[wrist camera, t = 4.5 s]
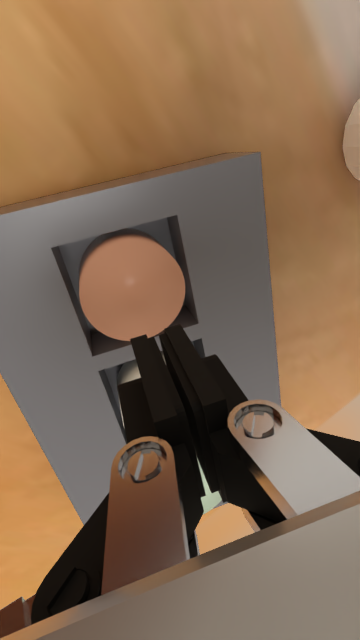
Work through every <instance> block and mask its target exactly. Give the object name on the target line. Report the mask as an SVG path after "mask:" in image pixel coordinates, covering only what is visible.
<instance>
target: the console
mask: <svg viewBox="0 0 360 640" xmlns="http://www.w3.org/2000/svg"><path fill="white" fill-rule="evenodd" d="M125 228H128V229H135V230H139V231H142V232H145V233H147V234H149V235H150V236H152V237H153V238H154V239H156V240H157V241H158V242H159V243H160V244H161V245H162V246H163V247H164V248H165V250H166V251H167V252H168V253H169V254H170V255H171V256H172V257H173V258H174V259H175V260H176V262H177V263H178V265H179V266H180V268H181V271H182V273H183V276H184V280H185V298H184V302H183V305H182V308H181V310H180V312H179V314H178V315H177V317H176V318H175V320H174V321H173V322H172V323H171V324H170V325H169V326H168V327H172V326H175V325H178V324H180V325H181V326H182V328H183V329H184V331H185V332H186V334H187V336H188V337H189V339H190V341H191V342H192V344H193V346H194V347H195V349H196V350H197V352H198V354H199V355H200V357H201V358H204V357H207V356H211V355H214V354H216V355H217V356H218V357H219V359H220V360H221V362H222V363H223V364H224V366H225V367H226V369H227V370H228V372H229V373H230V374H231V376H232V377H233V379H234V380H235V382H236V383H237V384H238V386H239V387H240V389H241V390H242V391H243V393H244V394H245V396H246V397H247V399H248V400H258V399H259V400H267V401H270V402H273V403H276V404H277V405H279V406H280V407H281V399H280V386H279V374H278V362H277V350H276V337H275V325H274V313H273V301H272V288H271V276H270V264H269V252H268V239H267V227H266V215H265V203H264V190H263V178H262V166H261V154H260V152H241V153H224V154H220V155H216V156H212V157H207V158H203V159H199V160H195V161H191V162H187V163H182V164H178V165H174V166H170V167H166V168H162V169H157V170H153V171H149V172H145V173H141V174H137V175H132V176H128V177H124V178H120V179H116V180H112V181H107V182H103V183H99V184H95V185H91V186H87V187H82V188H78V189H74V190H70V191H66V192H62V193H57V194H53V195H49V196H45V197H41V198H37V199H32V200H28V201H24V202H20V203H16V204H12V205H7V206H3V207H0V373H1V375H2V377H3V379H4V381H5V382H6V384H7V386H8V388H9V390H10V392H11V393H12V395H13V397H14V399H15V401H16V402H17V404H18V406H19V408H20V410H21V412H22V413H23V415H24V417H25V419H26V421H27V422H28V424H29V426H30V428H31V430H32V432H33V433H34V435H35V437H36V439H37V441H38V442H39V444H40V446H41V448H42V450H43V452H44V453H45V455H46V457H47V459H48V461H49V462H50V464H51V466H52V468H53V470H54V471H55V473H56V475H57V477H58V479H59V481H60V482H61V484H62V486H63V488H64V490H65V491H66V493H67V495H68V497H69V499H70V501H71V502H72V504H73V506H74V508H75V510H76V511H77V513H78V515H79V517H80V519H81V521H82V522H83V524H84V525H85V524H86V522H87V521H88V520H89V518H90V517H91V516H92V514H93V513H94V512H95V510H96V509H97V508H98V506H99V505H100V504H101V502H102V501H103V500H104V498H105V497H106V496H107V494H108V493H109V489H110V476H111V467H112V463H113V459H114V458H115V456H116V454H117V453H118V451H120V450H121V449H122V448H123V447H124V446H125V445H126V444H127V440H126V434H125V429H124V426H123V421H122V415H121V409H120V403H119V397H118V391H117V377H118V374H119V371H120V369H121V367H122V366H123V364H124V363H125V362H129V361H132V360H135V359H136V358H135V355H134V351H133V348H132V344H131V341H123V340H118V339H114V338H111V337H108V336H106V335H105V334H103V333H101V332H100V331H98V330H97V329H96V328H95V327H94V326H93V325H92V324H91V323H90V322H89V321H88V319H87V318H86V316H85V314H84V312H83V310H82V307H81V303H80V297H79V267H80V262H81V259H82V256H83V254H84V252H85V250H86V249H87V247H88V246H89V245H90V244H91V243H92V242H93V241H94V240H95V239H96V238H97V237H99V236H100V235H102V234H106V233H109V232H113V231H117V230H121V229H125ZM168 327H167V328H168ZM160 334H164V330H163V331H162V332H160V333H158V334H156V335H155V336H152V337H154V338H155V340H156V342H157V345H158V347H159V349H160V351H163V350H162V346H161V343H160V338H159V335H160ZM226 503H228V502H225V503H223V501H222V500H221V501H220V502H219V504H217V505H216V506H215V507H214V508H216V507H219V506H221V505H224V504H226ZM214 508H213V509H214Z"/></svg>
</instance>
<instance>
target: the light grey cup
mask: <svg viewBox="0 0 360 640" xmlns="http://www.w3.org/2000/svg"><path fill="white" fill-rule="evenodd" d="M342 148H343V153H344V158H345V163H346V166H347V168H348V169H349V171H350V172H351V174H352V175H353V176H354V178H355V179H357V180H359V181H360V98H359V100H358V101H357V102H356V103H355V104H354V106H353V109H352V111H351V113H350V116H349V118H348V120H347V122H346V125H345V130H344V138H343V146H342Z"/></svg>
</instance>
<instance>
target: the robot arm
mask: <svg viewBox="0 0 360 640" xmlns="http://www.w3.org/2000/svg"><path fill="white" fill-rule="evenodd" d="M159 338H160V343H161V346H162V350H163V354H164V358H165V361H164V359H163V357H162V354H161V352H160V349H159V347H158V345H157V342H156V340H155V338H154V337H150V338H148V337H147V335H146V334H145V335H141V336H138V337H135V338H131V339H130V341H131V344H132V348H133V351H134V355H135V358H136V362H137V366H138V369H139V373H140V376H141V378H138V379H135V380H132V381H128V382H125V383H122V384H119V385H118V386H117V387H118V393H119V399H120V405H121V411H122V417H123V423H124V429H125V434H126V440H127V444H126V445H125V446H124V447H123V448H122V449H121V450H120V451H118V453H117V454H116V456H115V458H114V459H113V463H112V467H111V476H110V489H109V493H108V494H107V496H106V497H105V498H104V500H103V501H102V502H101V504H100V505H99V506H98V508H97V509H96V510H95V512H94V513H93V514H92V516H91V517H90V518H89V520H88V521H87V522H86V524H85V525H84V526H83V528H82V529H81V530H80V532H79V533H78V534H77V535H76V537H75V538H74V539H73V541H72V542H71V543H70V545H69V546H68V547H67V549H66V550H65V551H64V553H63V554H62V555H61V557H60V558H59V559H58V561H57V562H56V563H55V565H54V566H53V567H52V569H51V570H50V571H49V573H48V574H47V575H46V577H45V578H44V580H43V582H42V583H41V585H40V587H39V588H38V590H37V592H36V594H35V595H33V596H32V597H30V598H29V599H27V600H26V601H25V600H24V599H23V597H20V598H19V599H17V600H15V601H14V602H12V603H11V604H9V605H8V606H6V607H5V608H3V609H1V610H0V640H360V442H359V441H355V440H351V439H346V438H342V437H338V436H334V435H330V434H326V433H322V432H318V431H314V430H309V429H305V428H304V427H303V426H302V425H301V424H300V423H299V422H298V421H297V420H295V419H294V418H293V417H292V416H291V415H290V414H289V413H288V412H287V411H285V410H284V409H283V408H282V407H280V406H279V405H277V404H276V403H273V402H270V401H267V400H259V399H258V400H248V399H247V397H246V396H245V394H244V393H243V391H242V390H241V389H240V387H239V386H238V384H237V383H236V382H235V380H234V379H233V377H232V376H231V374H230V373H229V372H228V370H227V369H226V367H225V366H224V364H223V363H222V362H221V360H220V359H219V357H218V356H217V355H216V354H214V355H211V356H207V357H204V358H201V357H200V355H199V354H198V352H197V350H196V349H195V347H194V346H193V344H192V342H191V341H190V339H189V337H188V336H187V334H186V332H185V331H184V329H183V328H182V326H181V325H180V324H178V325H175V326H172V327H168V328H165V329H164V334H160V335H159ZM165 362H166V364H165ZM197 458H198V460H197ZM198 461H199V463H200V466H201V468H202V471H203V474H204V476H205V479H206V481H207V484H208V486H209V489H210V491H211V493H214V492H217V491H218V492H219V494H220V496H221V499H222V501H223V503H225V502H228V503H231V504H234V505H236V506H239V507H241V508H242V511H243V514H244V515H245V518H246V519H247V521H248V522H249V524H250V526H251V527H252V529H253V530H254V531H255V533H253V534H251V535H248V536H245V537H243V538H241V539H238V540H236V541H233V542H231V543H228V544H226V545H223V546H221V547H218V548H216V549H213V550H211V551H209V552H206V553H204V554H201V555H200V553H199V547H198V540H197V535H196V532H195V529H196V527H197V525H198V523H199V521H200V519H201V517H202V515H203V513H204V509H203V505H202V501H201V497H204V496H206V494H205V489H204V485H203V481H202V477H201V473H200V469H199V464H198Z"/></svg>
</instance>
